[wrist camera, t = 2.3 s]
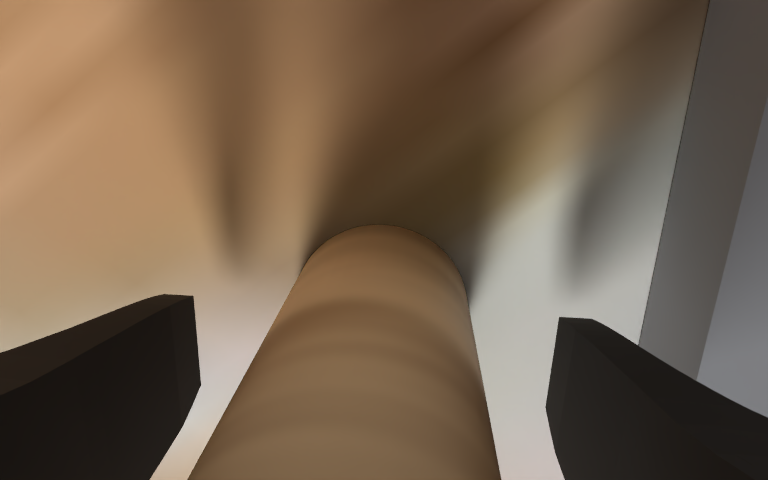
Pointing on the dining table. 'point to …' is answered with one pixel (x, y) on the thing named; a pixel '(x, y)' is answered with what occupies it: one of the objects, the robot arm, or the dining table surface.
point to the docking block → (719, 218)
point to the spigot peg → (362, 374)
